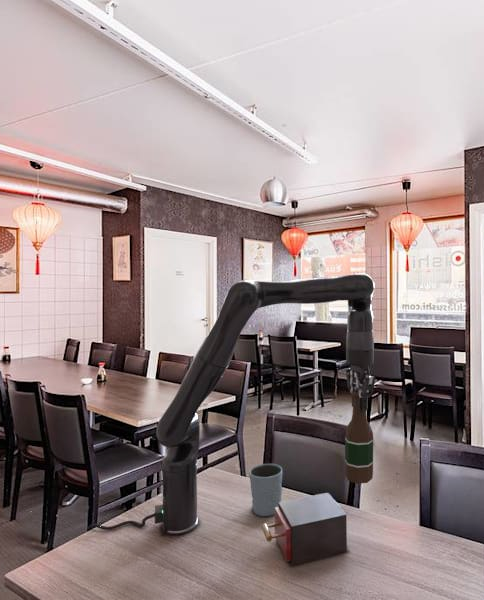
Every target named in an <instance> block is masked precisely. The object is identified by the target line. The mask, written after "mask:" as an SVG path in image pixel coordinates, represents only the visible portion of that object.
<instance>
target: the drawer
mask: <svg viewBox="0 0 484 600" xmlns="http://www.w3.org/2000/svg"><path fill="white" fill-rule="evenodd" d="M271 528H274V534H271V531H270V529H271ZM261 529H262V532H263V534H264V536H265V539H266V541H267V542H272V540H274V539H275V540H276V541H277V543H278V546H279V548H280V550H281V552H282V555H283V557H284V559H285V561H286V562H290V561H291V527H290V525H289V524H288V522H287V520H286V518H285V516H284V515H283V513H282V511H281V510H280V508H279V507H275V514H274V523H269V524H267V523H263V524H261Z"/></svg>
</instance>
